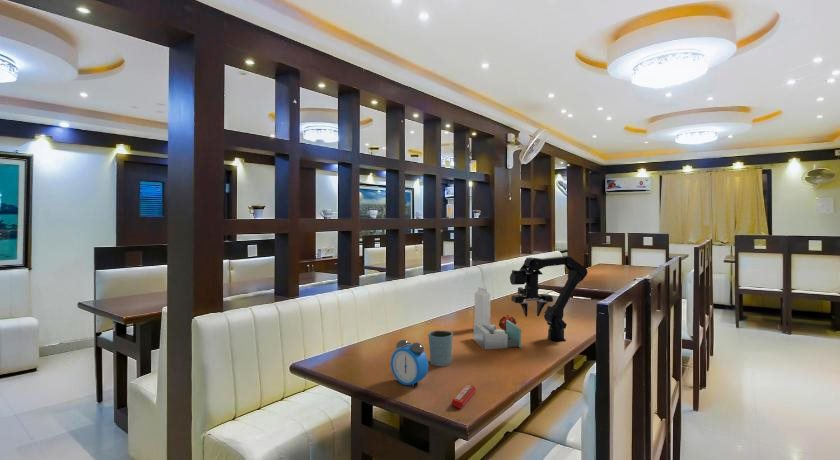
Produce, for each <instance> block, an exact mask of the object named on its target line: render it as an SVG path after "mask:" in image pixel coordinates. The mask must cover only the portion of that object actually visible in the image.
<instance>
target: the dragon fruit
mask: <svg viewBox="0 0 840 460" xmlns="http://www.w3.org/2000/svg"><path fill="white" fill-rule="evenodd" d="M506 320H508V321H510V322H511V323H513V324H514V325H517V320H516V318H515V317H514V316H513V315H511V316H509V315H508V314H507V315H506V316H502V318H500V319H499V322H498V326H499V329H501V330H504V331H505V332H506Z"/></svg>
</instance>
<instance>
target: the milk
mask: <svg viewBox="0 0 840 460" xmlns="http://www.w3.org/2000/svg"><path fill="white" fill-rule="evenodd" d="M487 290H488V289H487V288H484V287H478V289H477V291H476V292H475V293H474V325H475V324H481V325H491V293H490V292H488V291H487Z"/></svg>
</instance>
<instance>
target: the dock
mask: <svg viewBox="0 0 840 460" xmlns="http://www.w3.org/2000/svg"><path fill="white" fill-rule="evenodd" d="M472 327H473V331H472V334H473V340H474V341H475V342H476V343H477V344H478V345H479V346H480V348H482V350H495V349H496V350H498V349H508V348H509V347H508V334H491V333H490V332H494V330H496V329H497V325H496V324H490V325H481V324H475V323H474V325H473V326H472Z"/></svg>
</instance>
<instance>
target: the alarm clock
mask: <svg viewBox="0 0 840 460" xmlns="http://www.w3.org/2000/svg"><path fill="white" fill-rule="evenodd" d="M395 348H396V349H395V350H394V351H393V353H392V355H391V357H390V368H391V371H392V374H393V376H394V378H395V379H396V380H397V381H398V382H397V383H400V384H402V385H405V386H412V388H414V385H415V384H416V383H418V382H420V381H422V380H424V379H425V378H426V376H427V374H428V372H429V360H428V358H427V355H426V353H425V351H424V350H425V349H424V345H423V344H422V343H419V342H417V341H416V342H412V343H411V342H409V341H408V340H407V339H399V341H397V342H396V344H395Z"/></svg>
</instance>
